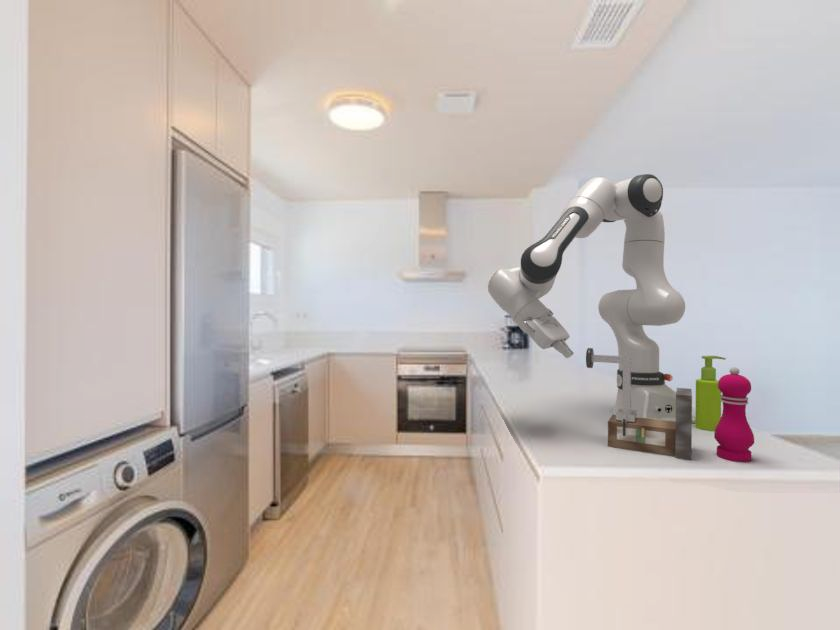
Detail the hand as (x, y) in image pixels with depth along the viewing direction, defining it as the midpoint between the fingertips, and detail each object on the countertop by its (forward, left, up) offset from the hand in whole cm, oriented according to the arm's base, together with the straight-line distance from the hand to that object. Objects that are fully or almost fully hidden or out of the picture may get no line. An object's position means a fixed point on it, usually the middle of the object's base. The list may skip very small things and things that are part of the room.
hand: (570, 356), depth 113 cm
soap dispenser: (-41, -9, -21) cm, 47 cm away
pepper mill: (-31, +15, -21) cm, 41 cm away
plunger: (-8, +6, -18) cm, 20 cm away
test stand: (-16, +9, -21) cm, 28 cm away
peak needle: (-12, +13, -17) cm, 25 cm away
